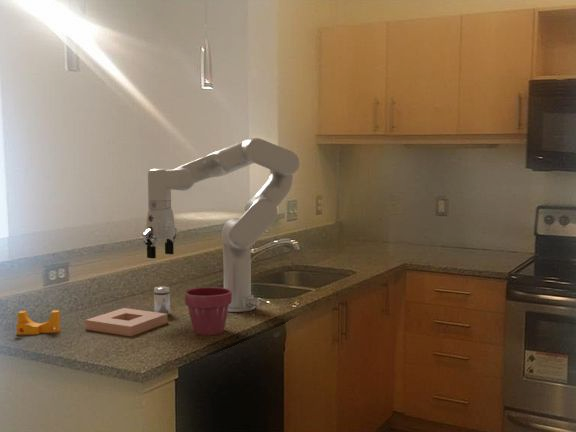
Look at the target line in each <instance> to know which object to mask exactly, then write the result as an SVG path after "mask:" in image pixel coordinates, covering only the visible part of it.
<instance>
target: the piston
mask: <svg viewBox="0 0 576 432" xmlns="http://www.w3.org/2000/svg"><path fill="white" fill-rule="evenodd" d="M170 293H171V290H170V287H169V286H155V287H154V288H153V303H154V304H153V305H154V306H153V309H154V311H153V312H158V313H165V314H167V316H168V315H171V301H170V296H171V295H170Z"/></svg>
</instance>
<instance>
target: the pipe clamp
mask: <svg viewBox="0 0 576 432" xmlns="http://www.w3.org/2000/svg"><path fill="white" fill-rule="evenodd" d="M60 331H61V310H57V309H54V310H52V311H51V312H50V317H49V319H48V320H47V321H46V322H42V323H40V322H39V323H38V322H35V321H33V320H32V319H31V318H30V317H29V314H28V311H27V310H19V311H18V312H17V323H16V335H20V336H21V335H39V334H40V333H46V334H47V333H59V332H60Z"/></svg>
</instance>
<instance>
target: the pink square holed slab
mask: <svg viewBox="0 0 576 432" xmlns="http://www.w3.org/2000/svg"><path fill="white" fill-rule="evenodd" d="M84 323H85V330H88V331H95V332H101V333H107V334H114V335H119V336H127V337H134V336H136V335H140V334H141V333H144V332H146V331H149V330H152V329H155V328H157V327H160V326H164V325H166V324H167V323H168V315H167V314H165V313H158V312H154V311H149V310H148V311H147V310H143V309H142V310H141V309H134V308H128V307H127V308H126V307H123V308H120V309H119V308H118V309H116V310H114V311H110V312H107V313H103V314H100V315H96V316H94V317H90V318H86V319H85V322H84Z"/></svg>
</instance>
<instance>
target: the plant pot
mask: <svg viewBox="0 0 576 432" xmlns="http://www.w3.org/2000/svg"><path fill="white" fill-rule="evenodd" d="M184 293H185V294H184V303H185V305H186V306H187V308H188V311H189V312H188V313H189V318H190V321H191V324H192V329H193V333H194V334H196V335H199V334H202V335H201V336H212V335H213V334H214V335H219V334H221V333H223V332H224V330H225V327H226V322H227V316H228V306H229V304H230V303H231V302H232V292H231V290H230V289H226V288H224V287H218V286H216V287H214V286H211V287H210V286H209V287H208V286H207V287H206V286H205V287H194V288H191V289H187V290H186V291H185V292H184Z"/></svg>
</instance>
